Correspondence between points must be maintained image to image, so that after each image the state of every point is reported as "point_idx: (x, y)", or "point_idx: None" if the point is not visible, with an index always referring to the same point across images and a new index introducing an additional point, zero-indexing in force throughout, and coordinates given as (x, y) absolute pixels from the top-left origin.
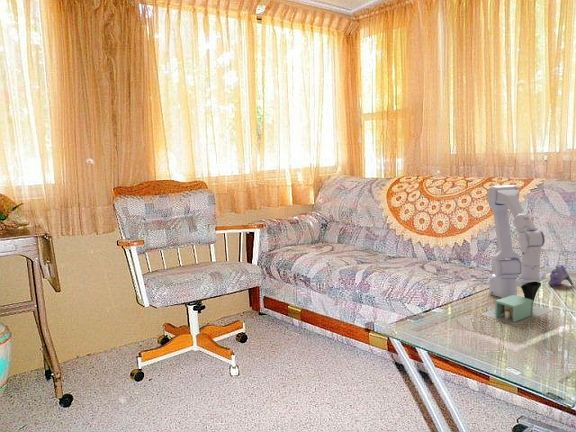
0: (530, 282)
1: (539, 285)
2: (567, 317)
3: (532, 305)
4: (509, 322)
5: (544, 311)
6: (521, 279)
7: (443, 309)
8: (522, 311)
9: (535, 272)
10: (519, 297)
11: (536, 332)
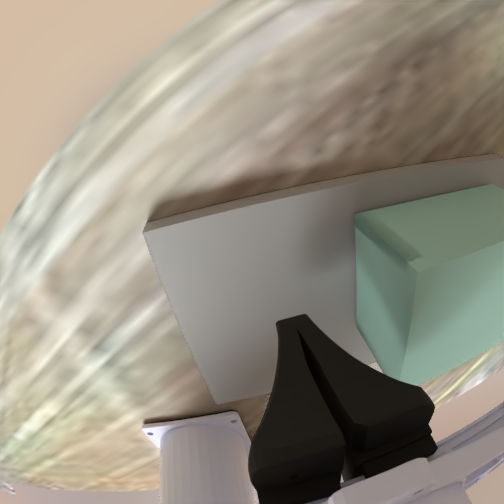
0: (393, 467)
1: (298, 437)
2: (99, 134)
3: (391, 246)
4: None
5: (205, 243)
6: (501, 460)
7: (462, 385)
8: (476, 211)
9: None
10: (425, 345)
11: (465, 65)
